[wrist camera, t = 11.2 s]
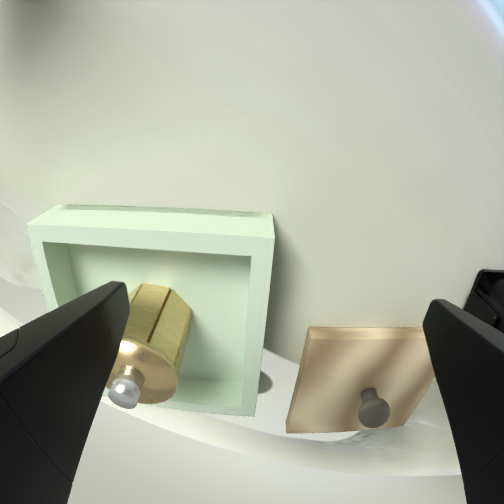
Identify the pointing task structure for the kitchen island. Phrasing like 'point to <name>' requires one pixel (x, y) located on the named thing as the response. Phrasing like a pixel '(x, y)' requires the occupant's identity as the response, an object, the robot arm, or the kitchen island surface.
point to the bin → (173, 284)
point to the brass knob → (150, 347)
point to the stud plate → (359, 379)
